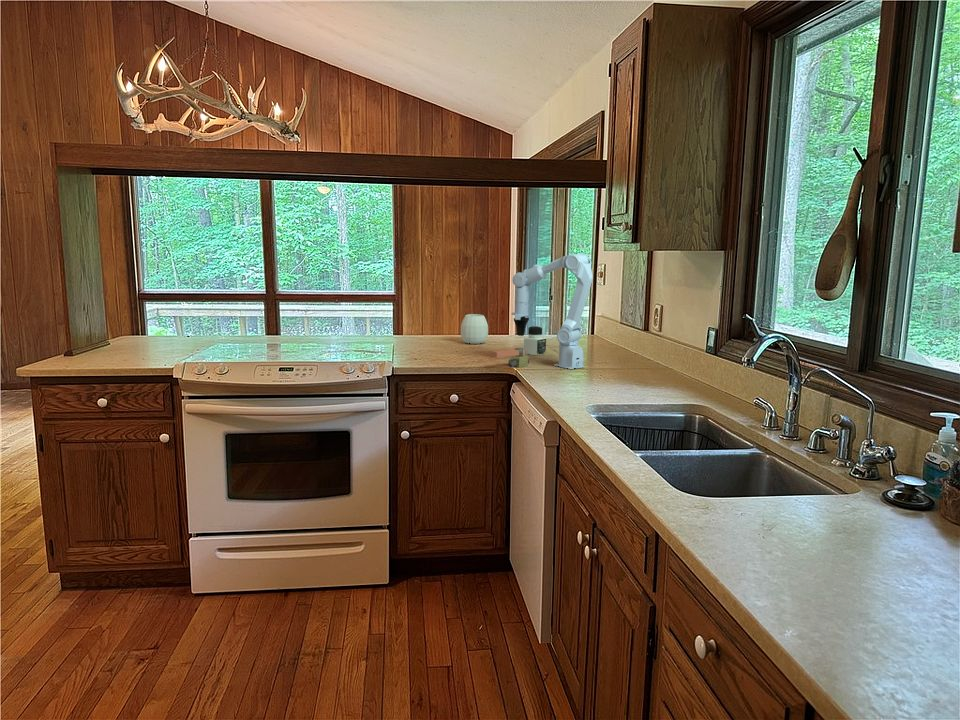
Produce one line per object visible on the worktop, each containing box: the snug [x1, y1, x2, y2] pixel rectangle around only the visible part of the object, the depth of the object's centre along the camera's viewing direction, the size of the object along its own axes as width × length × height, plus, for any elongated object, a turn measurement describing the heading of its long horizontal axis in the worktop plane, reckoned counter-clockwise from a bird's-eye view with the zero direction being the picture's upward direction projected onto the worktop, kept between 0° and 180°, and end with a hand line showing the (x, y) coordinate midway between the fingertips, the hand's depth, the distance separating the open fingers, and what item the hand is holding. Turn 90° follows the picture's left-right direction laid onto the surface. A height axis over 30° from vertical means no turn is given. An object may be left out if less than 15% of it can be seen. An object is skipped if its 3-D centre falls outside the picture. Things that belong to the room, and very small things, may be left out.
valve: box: [507, 354, 530, 369], centre depth 268 cm, size 6×8×4 cm
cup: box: [460, 313, 489, 345], centre depth 324 cm, size 13×13×14 cm
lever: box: [492, 347, 526, 359], centre depth 264 cm, size 14×3×2 cm, turn 126°
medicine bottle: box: [523, 325, 547, 356], centre depth 296 cm, size 7×7×12 cm
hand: (520, 335), depth 278 cm, fingers closed
